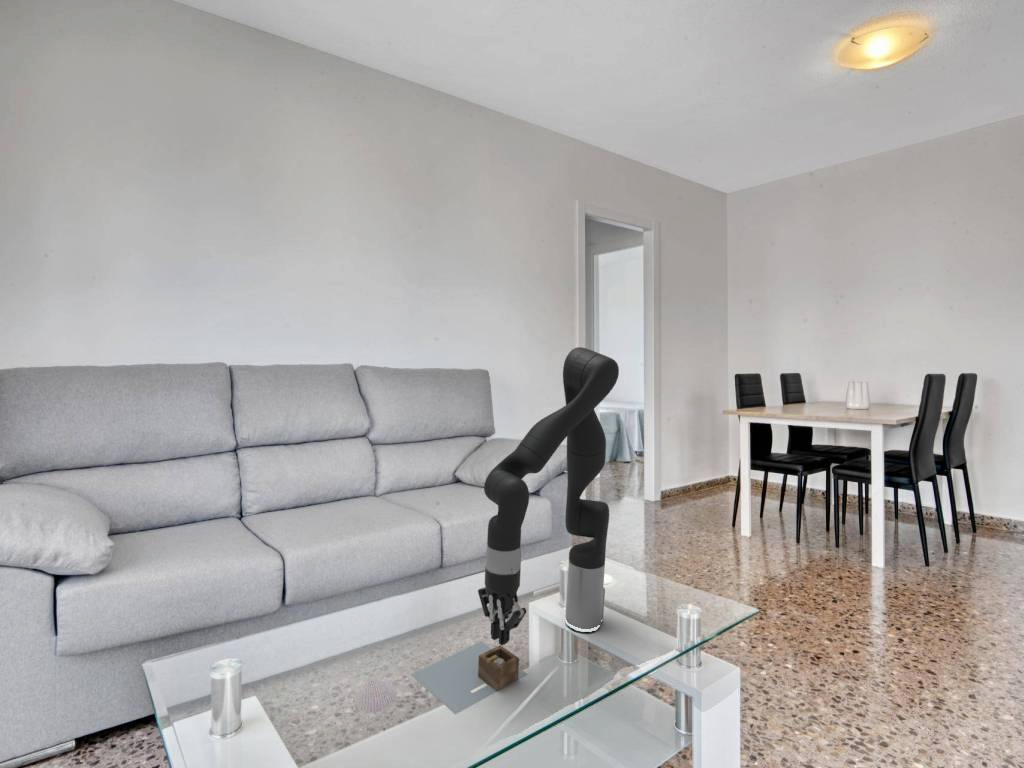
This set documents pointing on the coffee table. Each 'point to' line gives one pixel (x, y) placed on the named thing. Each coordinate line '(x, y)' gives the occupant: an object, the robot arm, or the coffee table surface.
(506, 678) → the open wooden crate
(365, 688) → the seashell
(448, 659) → the shaft plate
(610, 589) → the coffee table surface
